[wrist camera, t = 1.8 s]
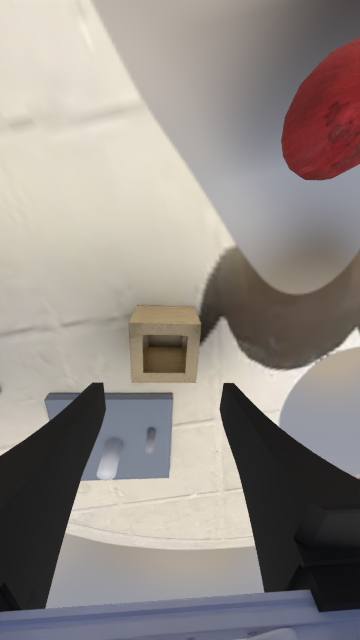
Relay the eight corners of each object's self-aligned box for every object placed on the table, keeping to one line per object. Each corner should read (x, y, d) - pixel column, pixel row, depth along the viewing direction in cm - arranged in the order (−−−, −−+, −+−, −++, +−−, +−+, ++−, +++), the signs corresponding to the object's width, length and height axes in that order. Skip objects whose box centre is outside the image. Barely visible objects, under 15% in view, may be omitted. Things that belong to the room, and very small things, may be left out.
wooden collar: (139, 367, 22) (132, 397, 18) (137, 305, 19) (128, 322, 15) (189, 367, 22) (194, 396, 18) (194, 306, 20) (201, 324, 15)
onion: (324, 191, 16) (454, 148, 9) (257, 192, 16) (333, 148, 9) (344, 98, 14) (535, -58, 7) (267, 97, 14) (379, -66, 7)
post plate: (68, 473, 27) (50, 514, 23) (49, 393, 22) (21, 428, 18) (169, 470, 28) (169, 509, 24) (172, 393, 23) (173, 426, 19)
